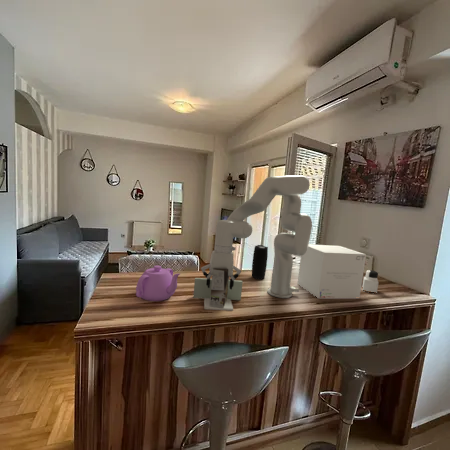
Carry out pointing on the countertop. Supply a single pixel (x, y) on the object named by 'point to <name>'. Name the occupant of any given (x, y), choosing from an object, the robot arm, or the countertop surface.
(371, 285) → the medicine bottle
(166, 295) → the teapot
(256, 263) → the portable speaker
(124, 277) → the countertop surface
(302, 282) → the cube
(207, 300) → the mat
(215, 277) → the coffee box
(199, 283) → the screen
